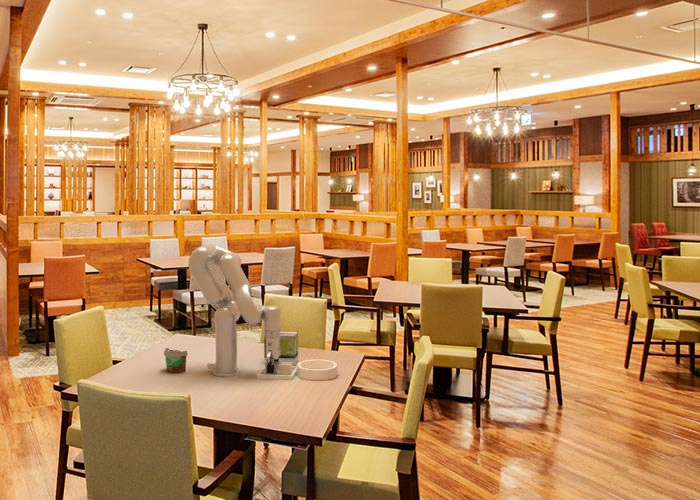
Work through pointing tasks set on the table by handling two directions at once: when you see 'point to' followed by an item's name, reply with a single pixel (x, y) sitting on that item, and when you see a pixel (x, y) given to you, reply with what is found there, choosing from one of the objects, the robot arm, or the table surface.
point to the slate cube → (276, 369)
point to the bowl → (317, 369)
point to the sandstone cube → (286, 368)
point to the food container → (175, 360)
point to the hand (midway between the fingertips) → (273, 370)
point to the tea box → (286, 347)
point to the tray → (279, 377)
